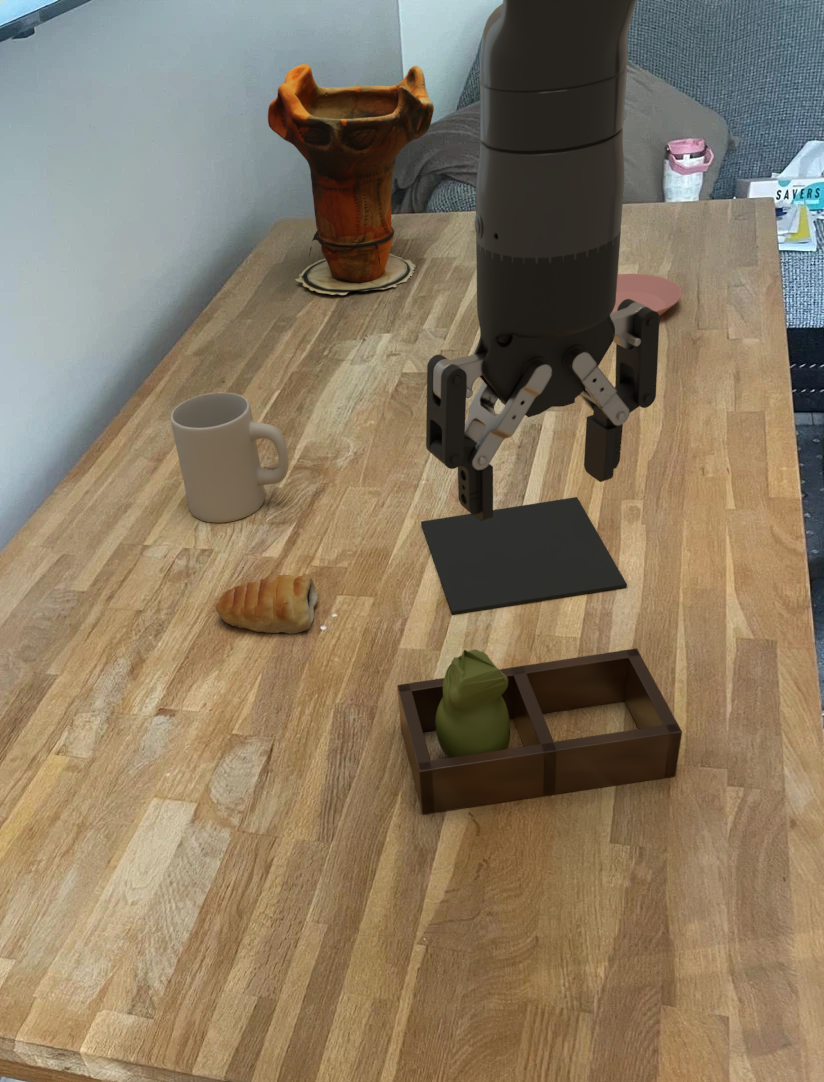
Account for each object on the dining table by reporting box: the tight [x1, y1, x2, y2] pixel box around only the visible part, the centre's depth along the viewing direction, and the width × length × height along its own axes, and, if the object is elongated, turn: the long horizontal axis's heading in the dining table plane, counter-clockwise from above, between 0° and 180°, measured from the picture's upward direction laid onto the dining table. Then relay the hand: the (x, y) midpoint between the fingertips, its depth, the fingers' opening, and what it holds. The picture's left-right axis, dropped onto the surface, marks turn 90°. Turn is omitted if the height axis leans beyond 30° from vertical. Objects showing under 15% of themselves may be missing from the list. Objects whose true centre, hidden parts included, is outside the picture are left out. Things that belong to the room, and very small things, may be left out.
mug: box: [170, 391, 289, 524], centre depth 116 cm, size 12×8×11 cm
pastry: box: [215, 573, 319, 634], centre depth 102 cm, size 9×7×4 cm
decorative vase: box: [267, 63, 435, 296], centre depth 157 cm, size 21×23×28 cm
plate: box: [611, 273, 683, 317], centre depth 144 cm, size 14×14×2 cm
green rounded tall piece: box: [435, 649, 511, 758], centre depth 82 cm, size 6×5×10 cm
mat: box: [420, 496, 628, 615], centre depth 105 cm, size 16×16×1 cm
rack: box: [396, 648, 683, 815], centre depth 83 cm, size 19×10×4 cm, turn 95°
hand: (539, 494), depth 69 cm, fingers open, 8 cm apart
